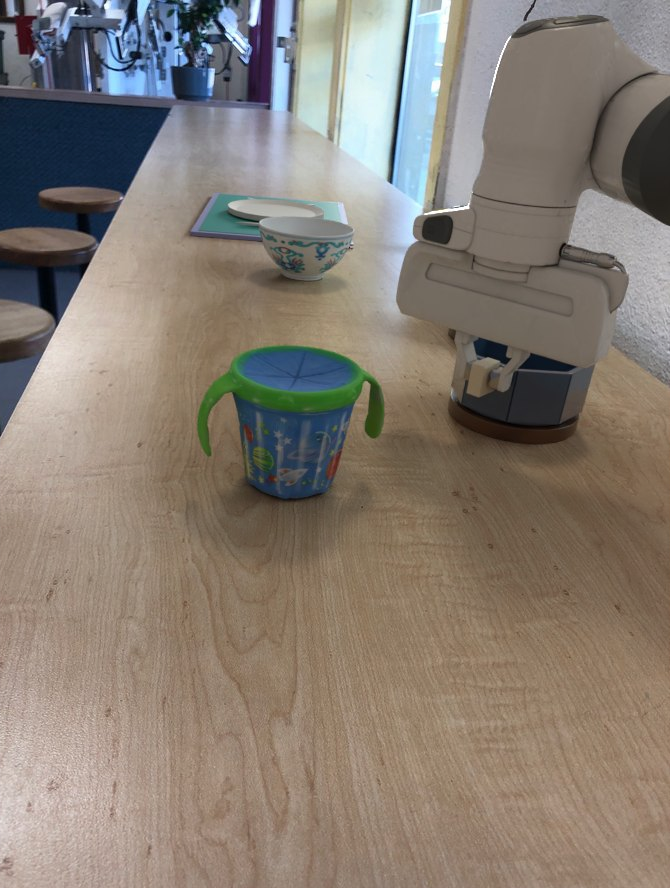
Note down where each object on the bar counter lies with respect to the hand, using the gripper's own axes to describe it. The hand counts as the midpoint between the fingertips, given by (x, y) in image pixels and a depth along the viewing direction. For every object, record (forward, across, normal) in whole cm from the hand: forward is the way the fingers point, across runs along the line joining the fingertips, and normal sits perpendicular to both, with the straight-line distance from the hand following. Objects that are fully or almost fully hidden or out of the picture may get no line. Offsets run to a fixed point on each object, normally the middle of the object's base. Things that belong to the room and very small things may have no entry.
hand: (483, 383), depth 75 cm
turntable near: (+5, 0, -8) cm, 9 cm away
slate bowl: (+4, 0, -6) cm, 7 cm away
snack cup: (+6, +6, +21) cm, 22 cm away
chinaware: (+6, +50, -34) cm, 61 cm away
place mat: (+6, +83, -65) cm, 106 cm away
